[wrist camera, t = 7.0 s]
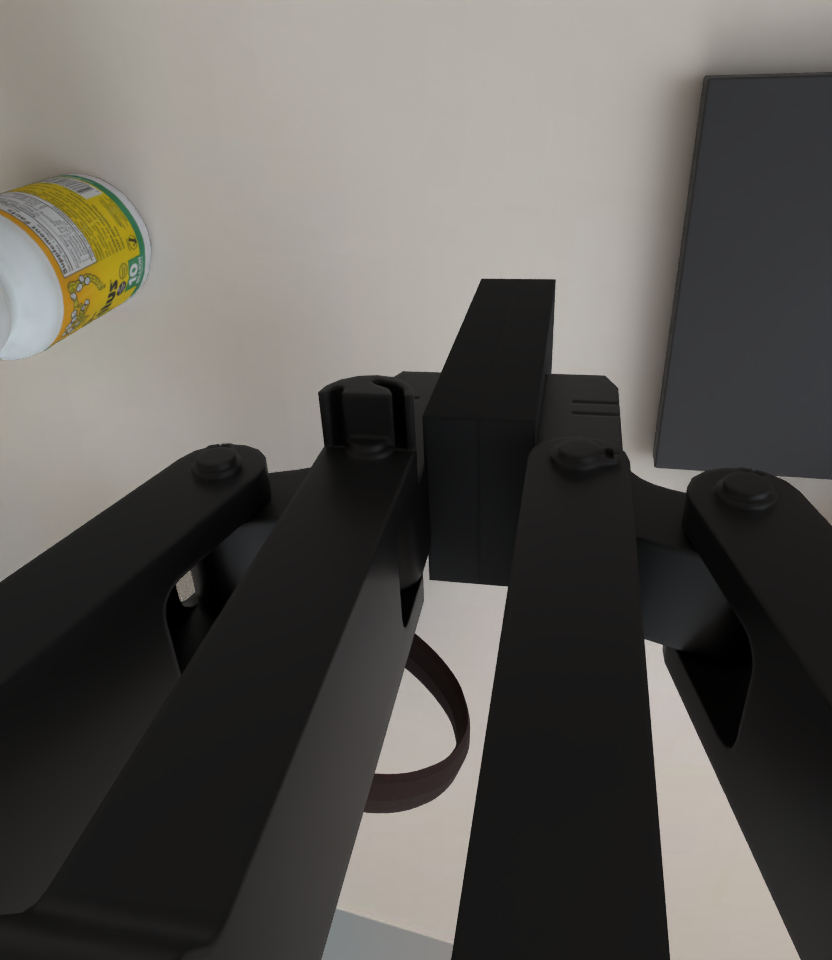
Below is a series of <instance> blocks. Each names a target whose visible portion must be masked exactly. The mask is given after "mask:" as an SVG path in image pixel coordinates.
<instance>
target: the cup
mask: <svg viewBox="0 0 832 960" xmlns="http://www.w3.org/2000/svg"><path fill="white" fill-rule="evenodd" d="M405 668H406V669H407V670H408V671H409V672H411V673H412V674H413V675H414V676H415V677H416V678H417V679H418V680H419V681H420V682H421V683H422V684H423V685H424V686H425V687H426V688H427V689H428V690H429V691H430V692H431V693H432V695H433V696H434V697H435V698H436V700H437V701H438V702H439V704H440V705H441V706H442V708H443V709H444V711H445V712H446V714H447V716H448V717H449V719H450V721H451V724H452V726H453V730H454V734H455V738H456V747H455V749H454V750H453V752H452V753H451V754H450V755H449V756H448V757H447V758H446V759H445V760H443V761H441V762H439V763H437V764H435V765H433V766H430V767H427V768H425V769H421V770H418V771H414V772H409V773H401V774H374V777H373V780H372V784H371V787H370V791H369V794H368V798H367V801H366V805H365V808H364V812H366V813H394V812H401V811H406V810H410V809H413V808H416V807H418V806H421V805H423V804H426V803H428V802H430V801H432V800H433V799H435V798H436V797H438V796H439V795H440V794H442V793H443V792H444V791H445V790H446V789H447V788H448V787H449V786H450V784H451V783H452V782H453V780H454V779H455V777H456V775H457V774H458V772H459V770H460V768H461V766H462V764H463V762H464V760H465V758H466V755H467V753H468V749H469V741H470V719H469V713H468V708H467V704H466V701H465V698H464V695H463V692H462V689H461V687H460V684H459V683H458V681H457V679H456V678H455V676H454V674H453V673H452V672H451V670H450V669H449V667H448V666H447V665H446V664H445V662H444V661H443V660H442V659H441V658H440V657H439V655H438V654H437V653H436V652H435V651H434V650H433V649H432V648H431V647H430V646H429V645H428V644H427V643H425V642H424V641H423V640H422V639H421V638H420V637H419V636H417V635H416V634H414V637H413V641H412V644H411V648H410V651H409V655H408V658H407V661H406V665H405Z"/></svg>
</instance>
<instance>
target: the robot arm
mask: <svg viewBox="0 0 832 960" xmlns="http://www.w3.org/2000/svg"><path fill="white" fill-rule="evenodd" d="M555 281H556V280H553V279H481V281H480V284H479V286H478V288H477V291H476V293H475V295H474V298H473V300H472V302H471V305H470V307H469V309H468V312H467V314H466V316H465V319H464V321H463V323H462V325H461V328H460V330H459V332H458V335H457V337H456V339H455V342H454V344H453V346H452V349H451V351H450V353H449V356H448V358H447V360H446V363H445V365H444V367H443V369H442V372H441V373H437V372H406V371H403V372H401V373H400V374H398V375H396V376H395V377H387V376H379V375H371V376H356V377H351V378H346V379H341V380H339V381H336V382H334V383H331V384H329V385H327V386H325V387H324V388H323V389H322V390H321V391H319V392H318V395H319V403H320V412H321V420H322V429H323V437H324V448H323V449H322V451H321V453H320V454H319V456H318V457H317V459H316V461H315V462H314V464H313V465H312V467H311V468H305V469H299V470H292V471H283V472H275V473H268V469H267V463H266V457H265V456H264V455H263V454H262V453H261V452H260V451H259V450H258V449H255V448H252V447H249V446H245V445H233V444H230V443H228V444H221V445H219V444H216V445H210V446H208V447H206V448H204V449H200V450H197V451H194V452H192V453H190V454H188V455H186V456H184V457H182V458H180V459H179V460H177V461H176V462H174V463H173V464H171V465H170V466H168V467H167V468H165V469H164V470H163V471H161V472H160V473H158V474H157V475H155V476H154V477H152V478H151V479H149V480H148V481H147V482H145V483H144V484H142V485H141V486H139V487H138V488H136V489H135V490H133V491H132V492H131V493H129V494H128V495H126V496H125V497H123V498H122V499H120V500H119V501H118V502H116V503H115V504H113V505H112V506H110V507H109V508H107V509H106V510H104V511H103V512H102V513H100V514H99V515H97V516H96V517H94V518H93V519H91V520H90V521H88V522H87V523H86V524H84V525H83V526H81V527H80V528H78V529H77V530H75V531H74V532H72V533H71V534H70V535H68V536H67V537H65V538H64V539H62V540H61V541H59V542H58V543H56V544H55V545H54V546H52V547H51V548H49V549H48V550H46V551H45V552H43V553H42V554H40V555H39V556H38V557H36V558H35V559H33V560H32V561H30V562H29V563H27V564H26V565H24V566H23V567H22V568H20V569H19V570H17V571H16V572H14V573H13V574H11V575H10V576H8V577H7V578H6V579H4V580H3V581H1V582H0V960H321V958H322V955H323V951H324V948H325V944H326V941H327V937H328V934H329V930H330V927H331V923H332V920H333V916H334V913H335V909H336V906H337V902H338V899H339V896H340V892H341V889H342V885H343V882H344V878H345V875H346V871H347V868H348V864H349V861H350V857H351V854H352V850H353V847H354V843H355V840H356V836H357V833H358V829H359V826H360V822H361V819H362V815H363V812H364V808H365V805H366V801H367V798H368V794H369V791H370V787H371V784H372V780H373V777H374V773H375V770H376V766H377V763H378V759H379V756H380V752H381V749H382V745H383V742H384V738H385V735H386V731H387V728H388V724H389V721H390V717H391V714H392V710H393V707H394V703H395V700H396V696H397V693H398V689H399V686H400V682H401V679H402V675H403V672H404V668H405V665H406V661H407V658H408V655H409V651H410V648H411V644H412V641H413V637H414V634H415V630H416V627H417V623H418V620H419V616H420V613H421V609H422V606H423V602H424V588H423V570H424V567H425V563H426V560H427V557H428V554H429V576H430V580H437V581H449V582H461V583H473V584H485V585H497V586H508V592H507V598H506V605H505V611H504V618H503V624H502V631H501V637H500V644H499V650H498V657H497V664H496V670H495V677H494V683H493V690H492V696H491V703H490V709H489V716H488V722H487V729H486V736H485V742H484V749H483V755H482V762H481V768H480V775H479V781H478V788H477V794H476V801H475V807H474V814H473V821H472V827H471V834H470V840H469V847H468V853H467V860H466V866H465V873H464V879H463V886H462V893H461V899H460V906H459V912H458V919H457V925H456V932H455V938H454V945H453V951H452V958H451V960H670V953H669V941H668V928H667V916H666V903H665V891H664V879H663V866H662V854H661V842H660V829H659V817H658V805H657V792H656V780H655V768H654V755H653V743H652V730H651V718H650V706H649V693H648V681H647V669H646V656H645V644H644V639H646V640H649V641H653V642H656V643H659V644H662V645H663V655H664V661H665V664H666V666H667V668H668V671H669V673H670V675H671V677H672V679H673V681H674V684H675V686H676V688H677V690H678V692H679V695H680V697H681V699H682V701H683V703H684V705H685V708H686V710H687V712H688V714H689V716H690V719H691V721H692V723H693V725H694V727H695V729H696V732H697V734H698V736H699V738H700V740H701V743H702V745H703V747H704V749H705V751H706V754H707V756H708V758H709V760H710V762H711V764H712V767H713V769H714V771H715V773H716V775H717V778H718V780H719V782H720V784H721V786H722V788H723V791H724V793H725V795H726V797H727V799H728V802H729V804H730V806H731V808H732V810H733V813H734V815H735V817H736V819H737V821H738V823H739V826H740V828H741V830H742V832H743V834H744V837H745V839H746V841H747V843H748V845H749V847H750V850H751V852H752V854H753V856H754V858H755V861H756V863H757V865H758V867H759V869H760V871H761V874H762V876H763V878H764V880H765V882H766V885H767V887H768V889H769V891H770V893H771V896H772V898H773V900H774V902H775V904H776V906H777V909H778V911H779V913H780V915H781V917H782V920H783V922H784V924H785V926H786V928H787V930H788V933H789V935H790V937H791V939H792V941H793V944H794V946H795V948H796V950H797V952H798V955H799V957H800V959H801V960H832V526H831V525H830V524H829V522H828V521H827V520H826V519H825V518H824V517H823V516H822V515H821V514H820V513H819V512H818V511H817V509H816V508H815V507H814V506H813V505H812V504H811V503H810V502H809V501H808V500H807V499H806V498H805V496H804V495H803V494H802V493H801V492H800V491H799V490H797V489H796V488H795V487H793V486H792V485H791V484H789V483H788V482H787V481H785V480H782V479H780V478H777V477H775V476H772V475H770V474H768V473H766V472H764V471H760V470H756V469H755V471H754V470H752V469H751V468H743V467H739V468H720V469H714V470H708V471H705V472H703V473H701V474H699V475H697V476H695V477H693V478H692V480H691V481H690V483H689V485H688V487H687V492H686V493H684V492H680V491H675V490H671V489H667V488H664V487H660V486H657V485H654V484H652V483H649V482H647V481H645V480H643V479H641V478H639V477H638V476H637V475H635V474H634V473H632V472H631V471H630V461H629V459H628V457H627V455H626V453H625V452H624V451H623V448H622V434H621V420H620V407H619V393H618V388H617V387H616V386H615V385H614V384H613V383H612V382H611V381H610V380H609V379H608V378H607V377H606V376H599V375H568V374H551V369H552V347H553V325H554V303H555ZM190 570H191V574H192V578H193V582H194V586H195V591H196V592H195V593H194V594H193V595H191V596H190V597H189V598H188V599H187V600H185V601H183V602H181V601H180V599H179V596H178V592H177V588H176V583H177V582H178V581H179V579H180V578H182V577H183V576H184V575H185V574H186V573H187V572H188V571H190Z"/></svg>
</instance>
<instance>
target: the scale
mask: <svg viewBox="0 0 832 960" xmlns="http://www.w3.org/2000/svg"><path fill="white" fill-rule="evenodd" d="M653 458H654V466H655V467H656V468H668V469H683V470H698V471H708V470H714V469H720V468H739V467H743V468H751V469H752V470H754V471H755V469H756V470H760V471H764V472H766V473H768V474H770V475H772V476H787V477H802V478H816V479H831V480H832V72H822V73H786V74H751V75H715V76H705V77H704V80H703V88H702V95H701V103H700V110H699V117H698V125H697V132H696V139H695V147H694V154H693V162H692V169H691V176H690V184H689V191H688V198H687V206H686V213H685V221H684V228H683V235H682V243H681V250H680V258H679V265H678V272H677V280H676V287H675V294H674V302H673V309H672V317H671V324H670V331H669V339H668V346H667V353H666V361H665V368H664V376H663V383H662V390H661V398H660V405H659V413H658V420H657V427H656V435H655V442H654V449H653Z"/></svg>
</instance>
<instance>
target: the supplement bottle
mask: <svg viewBox="0 0 832 960" xmlns="http://www.w3.org/2000/svg"><path fill="white" fill-rule="evenodd" d="M150 257H151V246H150V241H149V236H148V233H147V229H146V226H145V224H144V222H143V220H142V219H141V217H140V215H139V213H138V212H137V210H136V209H135V208H134V206H133V205H132V204H131V203H130V202H129V200H128V199H127V198H126V197H125V196H124V195H123V194H122V193H121V192H120V191H119V190H117V189H116V188H115V187H113V186H111V185H110V184H108V183H106V182H104V181H102V180H100V179H98V178H95V177H92V176H88V175H84V174H65V175H61V176H57V177H52V178H49V179H46V180H42V181H39V182H36V183H33V184H30V185H26V186H23V187H20V188H17V189H14V190H11V191H7V192H4V193H0V360H19V359H24V358H28V357H31V356H33V355H36V354H38V353H40V352H43V351H45V350H46V349H48V348H50V347H51V346H52V345H54V344H56V343H57V342H59V341H61V340H62V339H64V338H66V337H67V336H69V335H70V334H72V333H74V332H75V331H77V330H78V329H80V328H82V327H84V326H85V325H87V324H89V323H90V322H92V321H93V320H95V319H97V318H98V317H100V316H102V315H104V314H105V313H107V312H108V311H110V310H112V309H113V308H115V307H117V306H118V305H120V304H122V303H123V302H125V301H127V300H128V299H129V298H131V297H132V296H134V295H135V294H136V293H137V292H138V291H139V290H140V289H141V287H142V286H143V284H144V282H145V281H146V278H147V275H148V271H149V265H150Z"/></svg>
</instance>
